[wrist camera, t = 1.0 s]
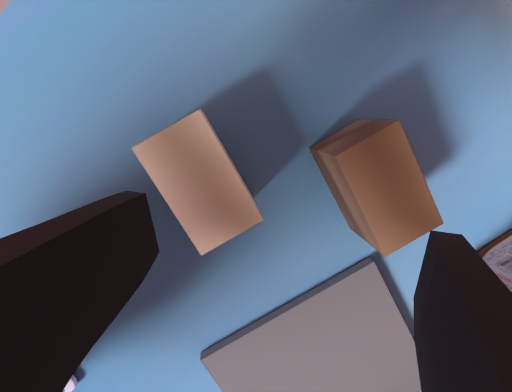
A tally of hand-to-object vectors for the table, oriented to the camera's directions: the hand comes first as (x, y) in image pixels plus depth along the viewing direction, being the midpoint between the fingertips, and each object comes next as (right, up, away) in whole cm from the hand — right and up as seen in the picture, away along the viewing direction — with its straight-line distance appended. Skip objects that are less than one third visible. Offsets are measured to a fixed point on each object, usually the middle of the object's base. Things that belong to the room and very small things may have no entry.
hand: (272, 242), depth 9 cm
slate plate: (+4, -11, +16) cm, 20 cm away
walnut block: (+6, +3, +13) cm, 15 cm away
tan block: (-4, +3, +12) cm, 13 cm away
